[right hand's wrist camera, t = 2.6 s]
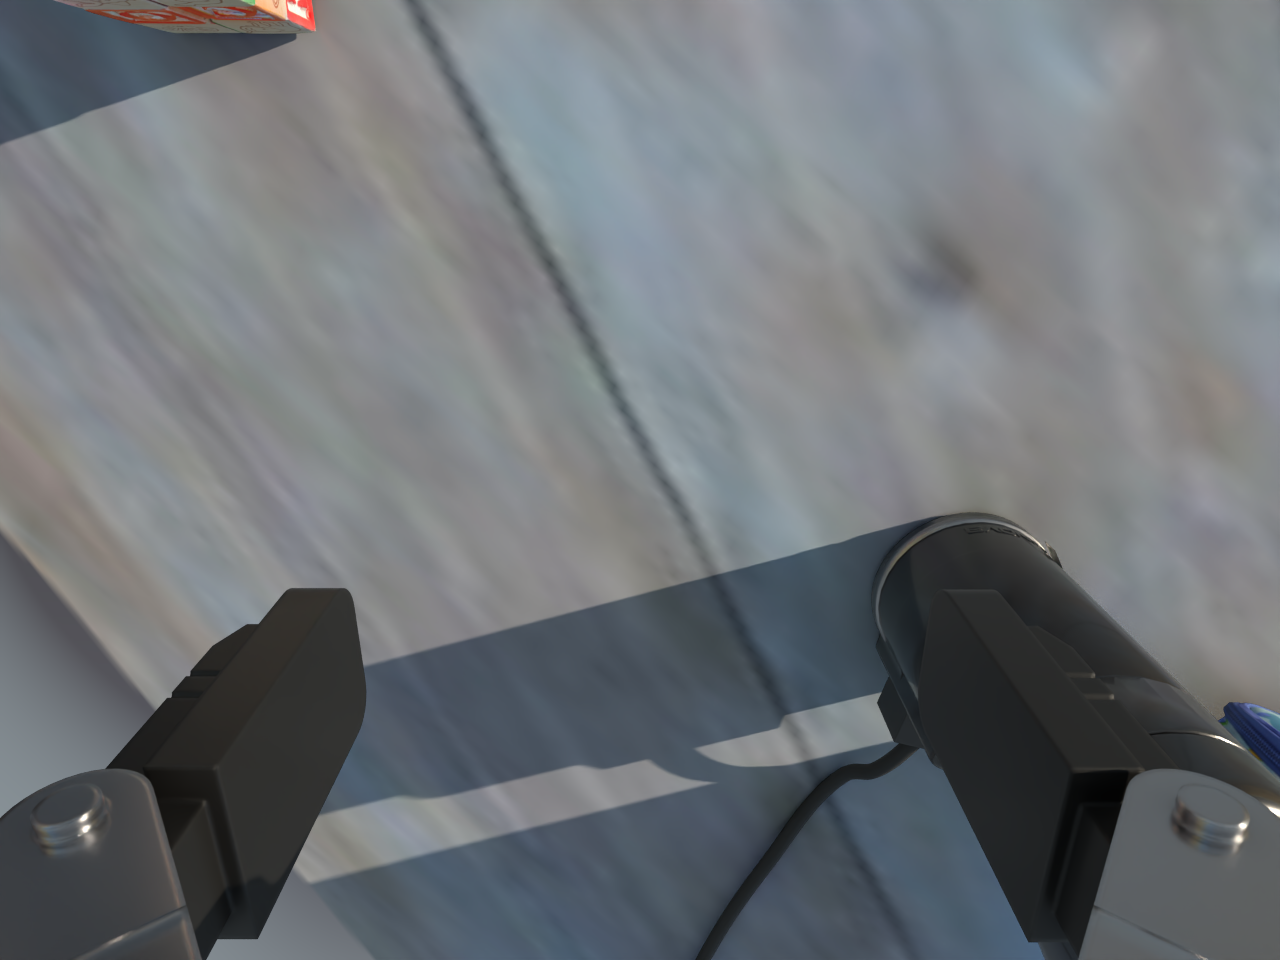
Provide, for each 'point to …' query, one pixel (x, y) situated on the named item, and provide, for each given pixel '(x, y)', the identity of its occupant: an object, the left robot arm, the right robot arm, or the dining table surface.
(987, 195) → the dining table surface
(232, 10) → the stack of blocks
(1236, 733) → the lunch box
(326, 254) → the dining table surface
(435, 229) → the dining table surface
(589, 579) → the dining table surface
